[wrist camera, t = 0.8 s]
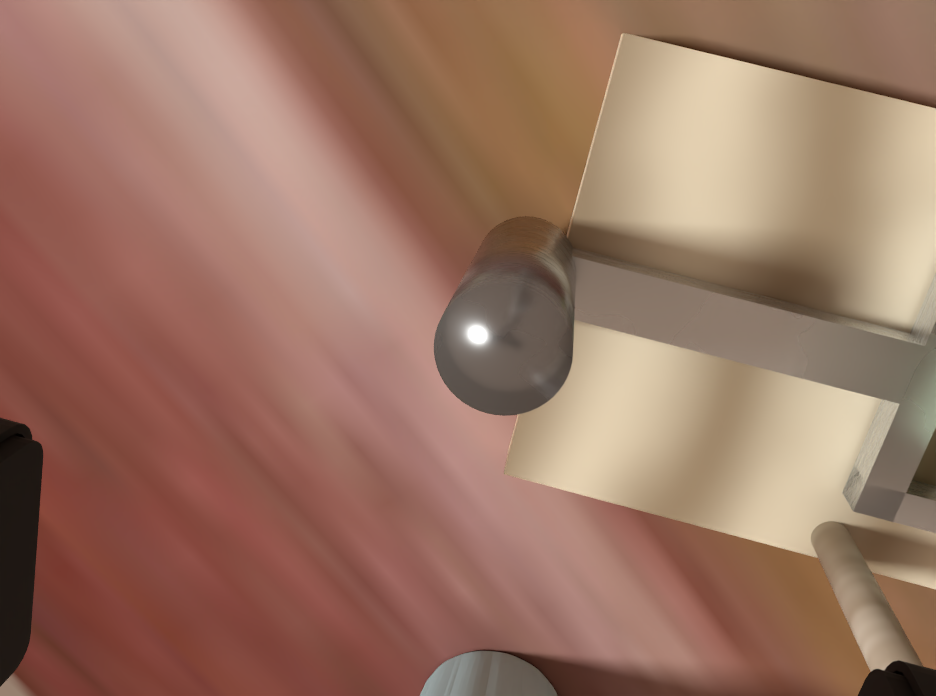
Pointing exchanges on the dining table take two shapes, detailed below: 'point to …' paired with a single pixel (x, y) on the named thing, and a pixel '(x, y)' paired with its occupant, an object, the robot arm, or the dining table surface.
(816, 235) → the tunnel
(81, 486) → the dining table surface
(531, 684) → the cup
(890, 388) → the slider
